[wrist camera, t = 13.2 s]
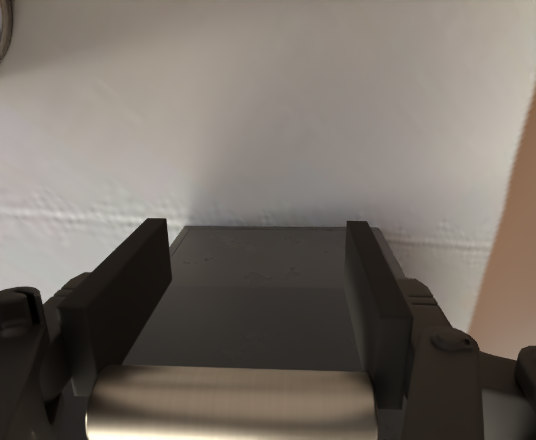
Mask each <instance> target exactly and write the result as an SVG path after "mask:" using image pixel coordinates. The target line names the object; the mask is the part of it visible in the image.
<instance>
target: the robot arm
mask: <svg viewBox="0 0 536 440" xmlns="http://www.w3.org/2000/svg"><path fill="white" fill-rule="evenodd" d="M11 30H12V12H11V4H10V0H0V62H1V60H2V59H3V57H4V55H5V53H6V51H7V48H8V45H9V42H10V37H11ZM171 281H172V272H171V261H170V251H169V241H168V231H167V220H166V219H165V218H147V219H146V220H145V221H144V222H143V223H142V224H141V225H140V226H139V227H138V228H137V229H136V230H135V231H134V232H133V233H132V234H131V235H130V236H129V237H128V238H127V239H126V240H125V241H124V242H123V243H121V244H120V245H119V246H118V247H117V248H116V249H115V250H114V251H113V252H112V253H111V254H110V255H109V256H108V257H107V258H106V259H105V260H104V261H103V262H102V263H101V264H100V265H99V266H98V267H97V268H96V269H95V270H94V271H93V272H84V273H82V274H80V275H78V276H77V277H75V278H73V279H71V280H70V281H68V282H67V283H66V284H65V285H64V286H63V287H62V288H61V290H59V291H57V292H56V293H55V294H54V296H53V297H51V298H50V299H49V300H48V301H46V302H45V303H44V304H42V300H41V295H40V291H39V290H38V289H36V288H33V287H15V288H10V289H5V290H2V291H0V440H57V436H58V431H59V427H60V422H61V418H62V413H63V408H64V398H63V394H62V389H63V388H64V387H65V385H66V384H67V383H68V381H69V380H70V379H71V382H72V387H73V392H74V396H84V397H89V396H90V392H91V389H92V387H93V384H94V382H95V380H96V378H97V376H98V375H99V373H100V372H101V371H102V370H103V369H104V368H105V367H106V366H109V365H112V364H115V365H122V363H123V361H124V360H125V358H126V356H127V355H128V353H129V351H130V350H131V348H132V346H133V345H134V343H135V341H136V340H137V338H138V336H139V335H140V333H141V331H142V330H143V328H144V326H145V325H146V323H147V321H148V320H149V318H150V316H151V315H152V313H153V311H154V310H155V308H156V306H157V305H158V303H159V301H160V300H161V298H162V296H163V295H164V293H165V291H166V290H167V288H168V286H169V285H170V283H171ZM343 286H344V290H345V294H346V299H347V303H348V308H349V312H350V316H351V321H352V325H353V330H354V334H355V338H356V343H357V347H358V352H359V356H360V360H361V365H362V369H363V372H366V373H368V374H369V375H370V376H371V379H372V381H373V385H374V389H375V394H376V401H377V409H391V410H402V404H403V396H404V394H405V397H406V399H407V405H406V410H405V416H404V422H403V428H402V434H401V440H536V346H528V347H525V348H522V349H521V351H520V352H519V354H518V358H517V361H516V360H511V359H507V358H502V357H498V356H494V355H490V354H487V353H484V352H481V351H479V347H478V344H477V342H476V341H475V340H474V339H473V338H472V337H471V336H470V335H468V334H466V333H464V332H462V331H461V330H458V329H455V328H452V326H451V324H450V323H449V321H448V320H447V318H446V316H445V315H444V313H443V311H442V310H441V308H440V307H439V306H438V303H437V302H436V300H435V299H434V298H433V295H432V294H431V292H430V291H429V289H428V287H427V286H425V285H424V284H422V283H421V282H420V281H418V280H417V279H410V278H394V276H393V274H392V272H391V270H390V268H389V265H388V263H387V261H386V259H385V257H384V255H383V253H382V251H381V249H380V247H379V245H378V243H377V241H376V239H375V237H374V235H373V233H372V231H371V229H370V227H369V224H368V222H367V221H347V229H346V245H345V262H344V278H343Z"/></svg>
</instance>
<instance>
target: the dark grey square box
mask: <svg viewBox="0 0 536 440" xmlns="http://www.w3.org/2000/svg"><path fill="white" fill-rule="evenodd" d="M346 229H347V228H342V227H220V226H184V228H183V229H182V230H181V232H180V233H179V235H178V236H177V237H176V239H175V240H174V242H173V243H172V244H171V246H170V247H169V251H170V261H171V272H172V281H171V283H170V285H187V286H244V287H301V288H344V286H343V278H344V262H345V245H346ZM370 229H371V231H372V233H373V235H374V237H375V239H376V241H377V243H378V245H379V247H380V249H381V251H382V253H383V255H384V257H385V259H386V261H387V263H388V265H389V268H390V270H391V272H392V274H393V276H394V278H406V277H405V275H404V273H403V271H402V269H401V267H400V266H399V264H398V262H397V260H396V258H395V256H394V255H393V253H392V251H391V249H390V247H389V245H388V244H387V242H386V240H385V238H384V236H383V234H382V233H381V231H380V229H379V228H370Z"/></svg>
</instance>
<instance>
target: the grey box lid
mask: <svg viewBox="0 0 536 440" xmlns="http://www.w3.org/2000/svg"><path fill="white" fill-rule="evenodd" d="M62 394H63V398H64V408H63V413H62V418H61V422H60V427H59V431H58V436H57V440H401V434H402V428H403V422H404V416H405V410H406V405H407V399H406V397H405V394H404V396H403V404H402V410H391V409H377V401H376V394H375V389H374V385H373V381H372V379H371V376H370V375H369V374H368V373H366V372H363V369H362V365H361V360H360V356H359V352H358V347H357V343H356V338H355V334H354V330H353V325H352V321H351V316H350V312H349V308H348V303H347V299H346V294H345V290H344V288H301V287H244V286H187V285H169V286H168V288H167V290H166V291H165V293H164V295H163V296H162V298H161V300H160V301H159V303H158V305H157V306H156V308H155V310H154V311H153V313H152V315H151V316H150V318H149V320H148V321H147V323H146V325H145V326H144V328H143V330H142V331H141V333H140V335H139V336H138V338H137V340H136V341H135V343H134V345H133V346H132V348H131V350H130V351H129V353H128V355H127V356H126V358H125V360H124V361H123V363H122V365H115V364H112V365H109V366H106V367H105V368H104V369H103V370H102V371H101V372H100V373H99V375H98V376H97V378H96V380H95V382H94V384H93V387H92V389H91V392H90V396H89V397H84V396H74V392H73V387H72V382H71V379H70V380H69V381H68V383H67V384H66V385H65V387H64V388H63V389H62Z"/></svg>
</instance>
